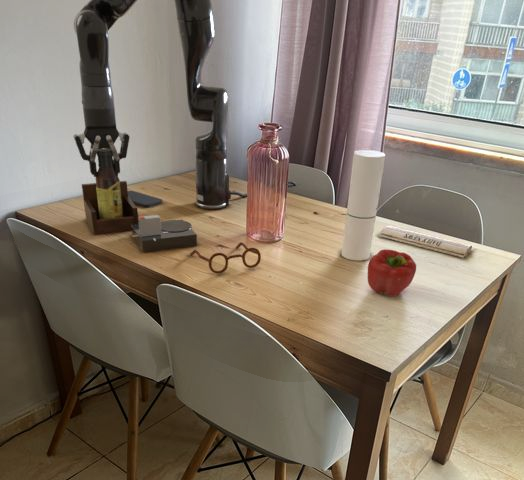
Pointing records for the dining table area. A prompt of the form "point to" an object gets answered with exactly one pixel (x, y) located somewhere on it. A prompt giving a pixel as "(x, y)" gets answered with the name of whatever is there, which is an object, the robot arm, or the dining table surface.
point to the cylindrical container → (362, 204)
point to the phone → (143, 199)
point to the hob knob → (149, 225)
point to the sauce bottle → (108, 187)
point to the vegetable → (390, 272)
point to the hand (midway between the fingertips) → (105, 175)
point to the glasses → (230, 257)
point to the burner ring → (175, 225)
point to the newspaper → (426, 241)
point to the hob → (164, 239)
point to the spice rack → (113, 223)
